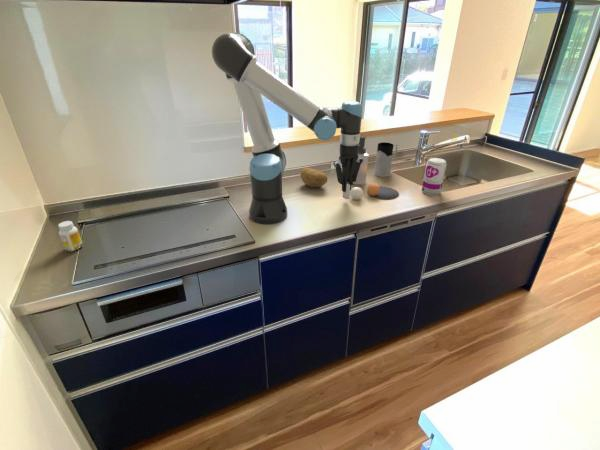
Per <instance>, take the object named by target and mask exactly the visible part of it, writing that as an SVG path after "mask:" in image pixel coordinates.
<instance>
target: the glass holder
mask: <svg viewBox="0 0 600 450" xmlns="http://www.w3.org/2000/svg"><path fill="white" fill-rule="evenodd" d="M394 146H395V151H394ZM393 152H394V154H393ZM397 152H398V145H397V143H394V144H393V143H391V142H378V143H377V150H376V156H375V163H374V165H375V166H374V171H373V175H375V176H377V177H385V178H386V177H390V176H391V175H392V173H391V171H392V170H391V169H392V163H393V160H394V159H395V157H396V155H397Z"/></svg>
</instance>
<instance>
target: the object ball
mask: <svg viewBox="0 0 600 450" xmlns="http://www.w3.org/2000/svg"><path fill="white" fill-rule="evenodd" d="M366 192H368V193H367V195H368V194H369V195H368V196H370V195H371V196H376V195H377V194H378V193H379V192H380V187H379V184H377V183H370V184H368V186H367V189H366ZM371 196H370V197H371Z"/></svg>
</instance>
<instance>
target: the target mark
mask: <svg viewBox="0 0 600 450" xmlns="http://www.w3.org/2000/svg"><path fill="white" fill-rule="evenodd" d="M378 186H379V185H378ZM379 187H380V192H379V193H378V194H377V195H376V196H371V195H369V194H368V192H367V191H366V192H367V195H368V196H370V197H371V198H374V199H377V200H385V201H387V200H388V201H389V200H394V199H397V198H398V197H399V196H400V193H399V191H398V190H397V189H395V188H392V187H388V186H381V185H380V186H379Z"/></svg>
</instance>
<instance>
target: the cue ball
mask: <svg viewBox="0 0 600 450" xmlns="http://www.w3.org/2000/svg"><path fill="white" fill-rule="evenodd" d="M363 196H364V191H363V189H362V188H361V187H359V186H355V187H352V188H351V191H350V194H349V197H350V198H352V199H353V200H357V201H358V200H360V199H362V197H363Z"/></svg>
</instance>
